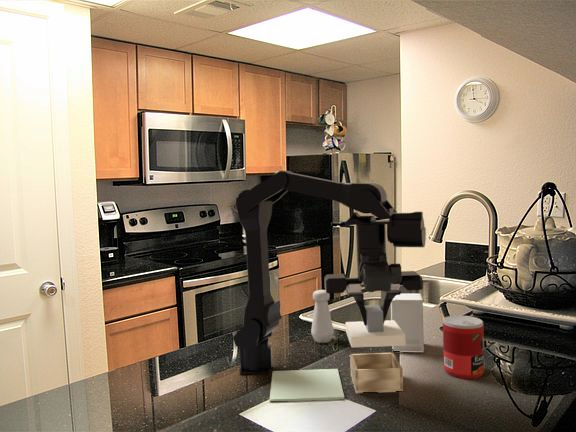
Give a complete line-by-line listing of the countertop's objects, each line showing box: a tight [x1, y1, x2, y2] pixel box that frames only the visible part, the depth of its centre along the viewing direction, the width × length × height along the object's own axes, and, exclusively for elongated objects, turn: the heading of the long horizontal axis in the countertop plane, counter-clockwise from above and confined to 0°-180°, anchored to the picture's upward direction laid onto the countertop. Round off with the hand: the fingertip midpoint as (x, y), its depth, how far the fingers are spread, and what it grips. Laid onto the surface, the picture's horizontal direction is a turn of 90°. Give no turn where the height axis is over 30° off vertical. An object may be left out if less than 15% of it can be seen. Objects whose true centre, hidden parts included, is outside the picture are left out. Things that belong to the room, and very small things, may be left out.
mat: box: [269, 368, 345, 402], centre depth 99 cm, size 14×14×1 cm
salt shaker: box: [310, 289, 334, 344], centre depth 126 cm, size 6×6×13 cm
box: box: [349, 352, 404, 394], centre depth 98 cm, size 9×9×4 cm
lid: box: [345, 304, 406, 348], centre depth 98 cm, size 10×10×6 cm
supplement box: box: [390, 293, 425, 352], centre depth 118 cm, size 7×7×13 cm
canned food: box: [442, 314, 485, 380], centre depth 102 cm, size 8×8×11 cm
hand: (373, 324), depth 98 cm, fingers closed on lid, 3 cm apart
